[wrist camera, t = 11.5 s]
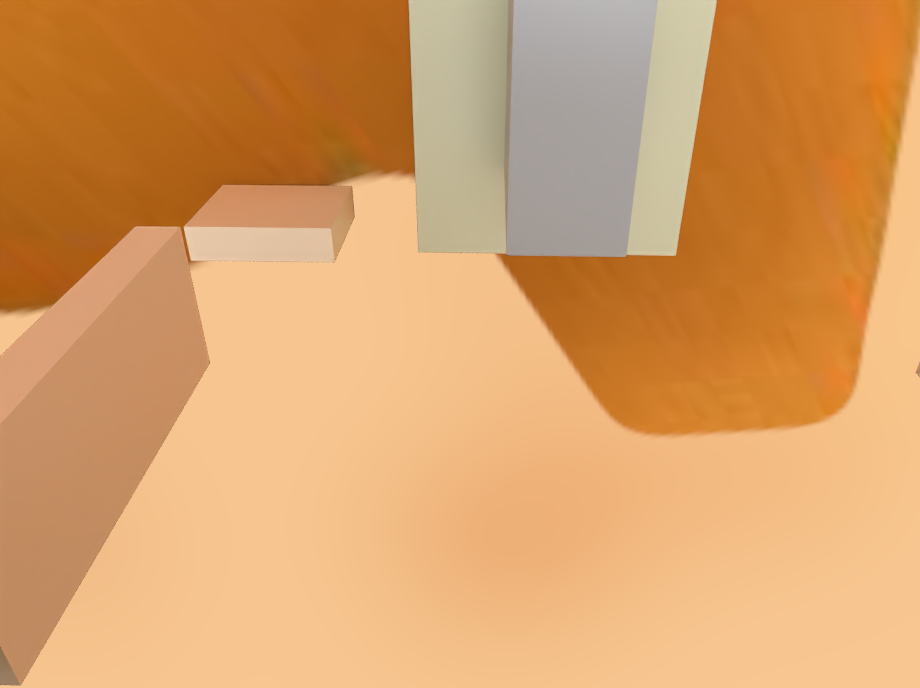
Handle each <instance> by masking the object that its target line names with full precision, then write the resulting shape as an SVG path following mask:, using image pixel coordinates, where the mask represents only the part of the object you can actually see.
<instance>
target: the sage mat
mask: <svg viewBox="0 0 920 688" xmlns="http://www.w3.org/2000/svg"><path fill="white" fill-rule="evenodd" d="M716 2H717V0H658V3H657V11H656V19H655V27H654V35H653V43H652V51H651V59H650V68H649V76H648V84H647V92H646V100H645V108H644V116H643V124H642V133H641V141H640V149H639V157H638V165H637V173H636V181H635V190H634V198H633V206H632V214H631V222H630V230H629V238H628V246H627V255H670V256H676V250H677V244H678V238H679V232H680V226H681V219H682V213H683V207H684V201H685V195H686V188H687V182H688V176H689V170H690V164H691V157H692V151H693V145H694V139H695V133H696V126H697V120H698V114H699V108H700V102H701V95H702V89H703V83H704V77H705V71H706V64H707V58H708V52H709V46H710V40H711V33H712V27H713V21H714V15H715V9H716ZM508 5H509V0H409V24H410V50H411V76H412V102H413V128H414V154H415V180H416V206H417V232H418V252H436V253H506V223H505V183H504V157H505V119H506V81H507V43H508Z"/></svg>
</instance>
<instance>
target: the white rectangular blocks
mask: <svg viewBox="0 0 920 688" xmlns="http://www.w3.org/2000/svg"><path fill="white" fill-rule="evenodd" d="M353 219H354V205H353V193H352V186H301V185H222V186H221V187H220V188H219V189H218V191H217V192H216V193H215V194H214V195H213V196H212V197H211V198H210V199H209V200H208V201H207V202H206V203H205V204H204V205H203V207H202V208H201V209H200V210H199V211H198V212H197V213H196V214H195V215H194V216H193V217H192V218H191V219H190V220H189V221H188V223H187V224H186V225H185V226H184V231H185V236H186V240H187V245H188V250H189V254H190V259H191V261H261V262H263V261H264V262H265V261H266V262H267V261H268V262H335V260H336V258H337V256H338V253H339V251H340V249H341V246H342V244H343V242H344V240H345V237H346V235H347V233H348V230H349V228H350V226H351V224H352V221H353Z"/></svg>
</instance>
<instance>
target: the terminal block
mask: <svg viewBox="0 0 920 688" xmlns="http://www.w3.org/2000/svg"><path fill="white" fill-rule="evenodd" d="M657 3H658V0H509V5H508V43H507V81H506V119H505V157H504V183H505V223H506V255H520V256H598V257H626V255H627V246H628V238H629V230H630V222H631V214H632V206H633V198H634V190H635V181H636V173H637V165H638V157H639V149H640V141H641V133H642V124H643V116H644V108H645V100H646V92H647V84H648V76H649V68H650V59H651V51H652V43H653V35H654V27H655V19H656V11H657Z"/></svg>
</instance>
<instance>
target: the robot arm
mask: <svg viewBox="0 0 920 688" xmlns="http://www.w3.org/2000/svg"><path fill="white" fill-rule="evenodd" d="M209 364H210V361H209V356H208V352H207V347H206V342H205V338H204V333H203V329H202V324H201V320H200V315H199V310H198V306H197V301H196V297H195V292H194V287H193V283H192V278H191V274H190V269H189V265H188V260H187V255H186V251H185V246H184V242H183V237H182V233H181V228H180V227H156V226H135V227H134V228H133V229H132V230H131V231H130V232H129V233H128V234H127V235H126V236H125V237H124V238H123V239H122V240H121V241H120V242H119V243H118V244H117V245H116V246H115V247H114V248H113V249H111V250H110V251H109V252H108V253H107V254H106V255H105V256H104V257H103V258H102V259H101V260H100V261H99V262H98V263H97V264H96V265H95V266H94V267H93V268H92V269H91V270H90V271H88V272H87V273H86V274H85V275H84V276H83V277H82V278H81V279H80V280H79V281H78V282H77V283H76V284H75V285H74V286H73V287H72V288H71V289H70V290H69V291H68V292H67V293H65V294H64V295H63V296H62V297H61V298H60V299H59V300H58V301H57V302H56V303H55V304H54V305H53V306H52V307H51V308H50V309H49V310H48V311H47V312H46V313H45V314H44V315H43V316H41V317H40V318H39V319H38V320H37V321H36V322H35V323H34V324H33V325H32V326H31V327H30V328H29V329H28V330H27V331H26V332H25V333H24V334H23V335H22V336H21V337H20V338H18V339H17V340H16V341H15V342H14V343H13V344H12V345H11V346H10V347H9V348H8V349H7V350H6V351H5V352H4V353H3V354H2V355H1V356H0V685H21V684H22V683H23V681H24V679H25V678H26V676H27V674H28V672H29V670H30V669H31V667H32V666H33V664H34V662H35V660H36V659H37V657H38V655H39V654H40V652H41V650H42V649H43V647H44V645H45V643H46V642H47V640H48V638H49V637H50V635H51V633H52V631H53V630H54V628H55V626H56V625H57V623H58V621H59V620H60V618H61V616H62V614H63V613H64V611H65V609H66V607H67V606H68V604H69V602H70V601H71V599H72V597H73V596H74V594H75V592H76V591H77V589H78V587H79V585H80V584H81V582H82V580H83V579H84V577H85V575H86V573H87V572H88V570H89V568H90V567H91V565H92V563H93V562H94V560H95V558H96V556H97V555H98V553H99V551H100V549H101V548H102V546H103V544H104V543H105V541H106V539H107V538H108V536H109V534H110V532H111V531H112V529H113V527H114V526H115V524H116V522H117V521H118V519H119V517H120V515H121V514H122V512H123V510H124V509H125V507H126V505H127V504H128V502H129V500H130V498H131V497H132V495H133V493H134V492H135V490H136V488H137V486H138V485H139V483H140V481H141V480H142V478H143V476H144V474H145V473H146V471H147V469H148V468H149V466H150V464H151V463H152V461H153V459H154V457H155V456H156V454H157V452H158V451H159V449H160V447H161V445H162V444H163V442H164V440H165V439H166V437H167V435H168V434H169V432H170V430H171V428H172V427H173V425H174V423H175V422H176V420H177V418H178V416H179V415H180V413H181V411H182V410H183V408H184V406H185V405H186V403H187V401H188V399H189V397H190V396H191V394H192V393H193V391H194V389H195V388H196V386H197V384H198V382H199V381H200V379H201V377H202V376H203V374H204V372H205V370H206V369H207V367H208V365H209ZM916 373H917V374H918V376H919V377H920V363H919V366H918V369H917V371H916Z"/></svg>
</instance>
